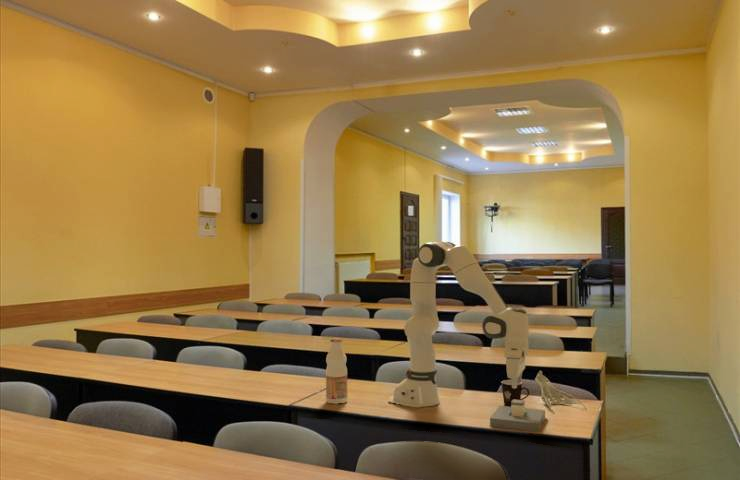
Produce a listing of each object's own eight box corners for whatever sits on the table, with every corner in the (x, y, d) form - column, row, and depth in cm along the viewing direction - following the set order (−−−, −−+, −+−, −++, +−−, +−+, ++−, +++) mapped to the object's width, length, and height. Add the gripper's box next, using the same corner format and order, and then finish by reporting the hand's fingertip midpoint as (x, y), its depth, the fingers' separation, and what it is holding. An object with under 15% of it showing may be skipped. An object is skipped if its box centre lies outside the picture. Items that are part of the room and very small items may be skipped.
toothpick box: (511, 422, 221) (511, 402, 221) (513, 419, 225) (513, 399, 225) (523, 424, 219) (522, 403, 220) (525, 420, 224) (524, 400, 224)
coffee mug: (497, 404, 247) (497, 381, 247) (514, 402, 250) (514, 379, 250) (513, 411, 236) (513, 387, 236) (531, 409, 239) (530, 385, 239)
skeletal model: (554, 414, 232) (527, 363, 249) (545, 426, 238) (520, 376, 255) (588, 409, 236) (559, 360, 254) (578, 422, 242) (551, 372, 260)
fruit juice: (322, 403, 252) (321, 339, 252) (332, 398, 261) (331, 336, 261) (341, 405, 248) (340, 341, 248) (351, 400, 257) (350, 337, 257)
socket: (490, 426, 218) (490, 418, 218) (499, 412, 234) (499, 405, 234) (539, 431, 211) (538, 423, 211) (545, 417, 227) (545, 410, 227)
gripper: (513, 344, 233) (513, 378, 233) (503, 353, 215) (503, 390, 215) (529, 345, 231) (529, 379, 231) (520, 354, 212) (520, 392, 212)
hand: (516, 385), depth 223 cm, fingers open, 8 cm apart
